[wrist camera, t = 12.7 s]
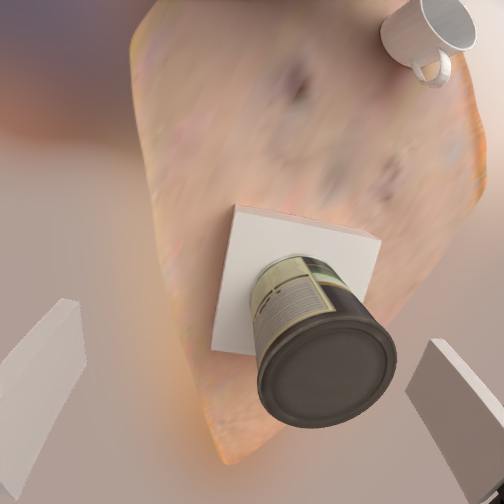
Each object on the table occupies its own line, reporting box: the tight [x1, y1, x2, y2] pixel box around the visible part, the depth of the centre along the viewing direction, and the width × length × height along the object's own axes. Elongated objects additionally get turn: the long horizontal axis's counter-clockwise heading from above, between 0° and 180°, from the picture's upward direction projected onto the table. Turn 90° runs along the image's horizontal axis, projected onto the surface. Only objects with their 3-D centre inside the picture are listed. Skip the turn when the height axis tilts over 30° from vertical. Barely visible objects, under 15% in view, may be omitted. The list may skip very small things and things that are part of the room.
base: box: [211, 204, 382, 356], centre depth 36 cm, size 16×16×5 cm
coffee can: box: [249, 254, 397, 428], centre depth 27 cm, size 10×10×14 cm
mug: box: [380, 0, 477, 88], centre depth 26 cm, size 12×8×10 cm, turn 170°
